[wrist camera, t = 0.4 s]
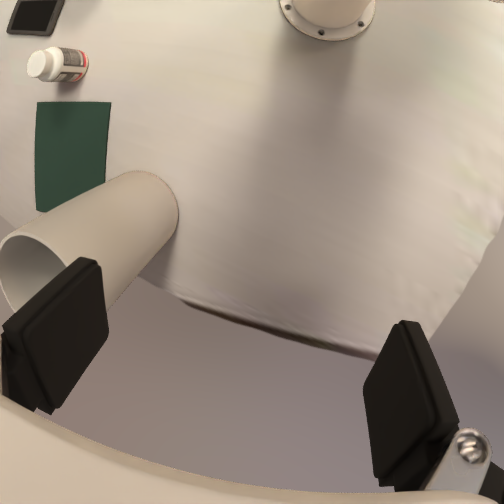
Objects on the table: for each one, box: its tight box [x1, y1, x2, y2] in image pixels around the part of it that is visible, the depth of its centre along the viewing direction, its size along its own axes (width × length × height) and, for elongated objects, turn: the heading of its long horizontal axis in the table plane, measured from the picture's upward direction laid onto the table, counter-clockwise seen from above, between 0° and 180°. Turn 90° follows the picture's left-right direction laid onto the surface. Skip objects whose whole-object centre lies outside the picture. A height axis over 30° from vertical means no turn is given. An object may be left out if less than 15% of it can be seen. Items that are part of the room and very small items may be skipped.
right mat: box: [35, 102, 111, 212], centre depth 45 cm, size 20×16×1 cm
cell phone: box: [7, 0, 64, 35], centre depth 34 cm, size 7×14×1 cm, turn 68°
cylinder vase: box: [0, 171, 178, 313], centre depth 36 cm, size 12×12×25 cm
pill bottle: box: [27, 47, 88, 82], centre depth 34 cm, size 5×5×10 cm
